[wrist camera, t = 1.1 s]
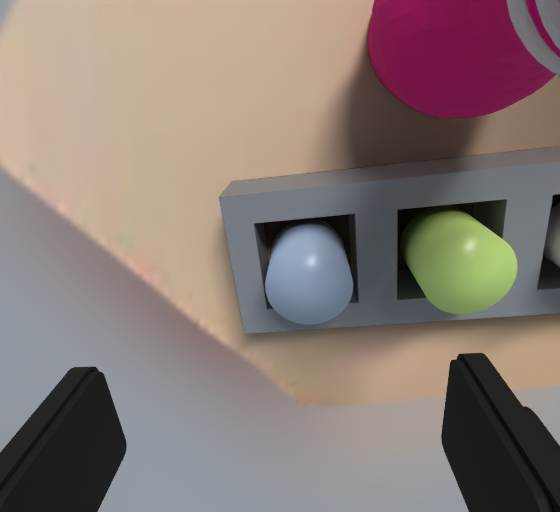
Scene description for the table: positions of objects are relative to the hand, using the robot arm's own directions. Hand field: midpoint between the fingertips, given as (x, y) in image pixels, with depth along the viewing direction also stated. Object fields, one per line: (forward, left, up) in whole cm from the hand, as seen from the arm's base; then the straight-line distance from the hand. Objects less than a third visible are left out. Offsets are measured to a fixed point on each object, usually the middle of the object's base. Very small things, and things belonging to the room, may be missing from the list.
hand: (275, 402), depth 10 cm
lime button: (-8, +1, -11) cm, 14 cm away
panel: (-8, +1, -13) cm, 16 cm away
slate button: (-1, +1, -11) cm, 11 cm away
